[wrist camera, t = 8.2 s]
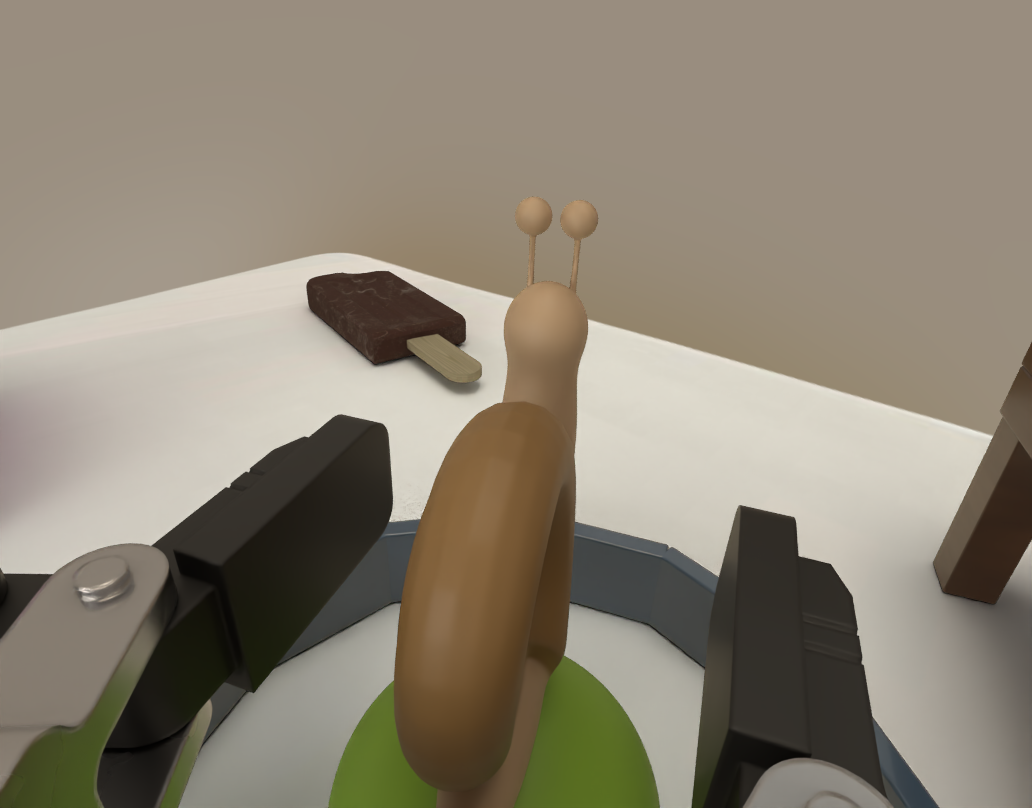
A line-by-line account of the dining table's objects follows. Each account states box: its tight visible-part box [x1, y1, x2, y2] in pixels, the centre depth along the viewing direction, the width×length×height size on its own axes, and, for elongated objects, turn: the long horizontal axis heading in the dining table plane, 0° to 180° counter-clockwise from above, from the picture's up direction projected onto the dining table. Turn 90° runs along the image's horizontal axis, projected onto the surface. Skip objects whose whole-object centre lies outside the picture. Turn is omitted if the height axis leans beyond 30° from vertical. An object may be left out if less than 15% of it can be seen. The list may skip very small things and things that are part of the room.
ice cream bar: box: [306, 271, 482, 383], centre depth 34 cm, size 5×2×15 cm
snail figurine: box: [328, 197, 660, 808], centre depth 9 cm, size 5×6×12 cm
